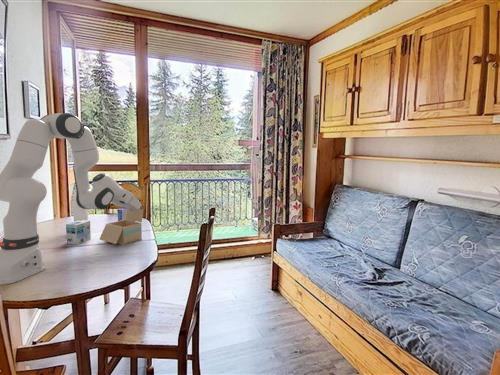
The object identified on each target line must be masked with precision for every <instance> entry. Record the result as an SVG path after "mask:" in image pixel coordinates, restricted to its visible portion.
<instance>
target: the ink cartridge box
mask: <svg viewBox="0 0 500 375" xmlns="http://www.w3.org/2000/svg"><path fill="white" fill-rule="evenodd" d="M116 210H117V221H121V220H128V219H126V210H127V208H125V207H121V208H118V209H116ZM129 221H132V220H129ZM134 222H136V221H134Z"/></svg>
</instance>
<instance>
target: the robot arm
mask: <svg viewBox="0 0 500 375" xmlns="http://www.w3.org/2000/svg"><path fill="white" fill-rule="evenodd" d="M52 139H65V140H66V141H68V143H69V145H70V150H71V153H72V157H73V165H72V170H73V176H74V182H75V188H76V189H77V195H76V194H75V195H76V201H77V204H78V206H79V207H81V208H83V209H88V210H101V211H102V210H106V209H107V208H108V207H109V206H110V205H111V204H113V205H114V206H115V207H121V208H123V207H125V208H127V209H129V210H130V211H135V210H139V208H140V207H141V206H142V203H141V202H140V200H139V199H138V198H137V197H136V196H134V193H133V192H131V191H129V190H126V189H125V188H123V187H122V186H121V185H119V184H118V183H117V180H115V179H114V178H113V177H112V176H111V175H109V174H108V173H99V174H97V175H95V176H94V177H93V178H92V180H91V182H92V188H91V187H90V179H89V170H91V168H93V167H94V166H96V165H97V163H98V162H99V160H100V153H99V149H98V145H97V143H96V139H95V137H94V135H93V133H92V131H91V129H90V128H89V127H87V126H84V124H83V122H82V121H81V119H80V118H79V117H78V116H77V115H75V114H73V113H70V112H69V113H68V112H64V113H59V112H57V113H51V114H47V115H44V116H42V117H41V118H39V119H37V118H30V119H28V120H26V121H25V123H23V125H22V126H21V129H20V131H19V133H18V135H17V137H16V140H15V143H14V147H13V149H12V152H11V155H10V157H9V159H8V162H7V163H6V164H5V166H4V168H3V169H2V170H1V172H0V201H2V202H4V203H5V202H6V203H8V210H7V214H6V215H5V216H4V217H3V220H2V226H3V239H2V240H1V241H0V285H1V286H2V285H10V284H14V283H16V282H18V281H21V280H23V279H25V278H28V277H31V276H33V275H36V274H37V273H40V272H42V271H45V270H47V268H46V266H45V264H44V261H43V255H42V250H41V248H40V246H39V245H40V244H39V243H40V236H39V233H38V222H37V217H38V212H39V208H40V204H41V203H42V202H43V201H44V200H45V198H46V196H47V193H48V192H47V187H46V185H45V184H44V183H43V182H41V181H40V180H37V179H35V178H33V176H34V175H35V174H36V172H37V171H38V170H40V169H42V167H43V164H44V162H45V158H46V155H47V152H48V149H49V145H50V142H51V140H52ZM76 189H75V190H76Z"/></svg>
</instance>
